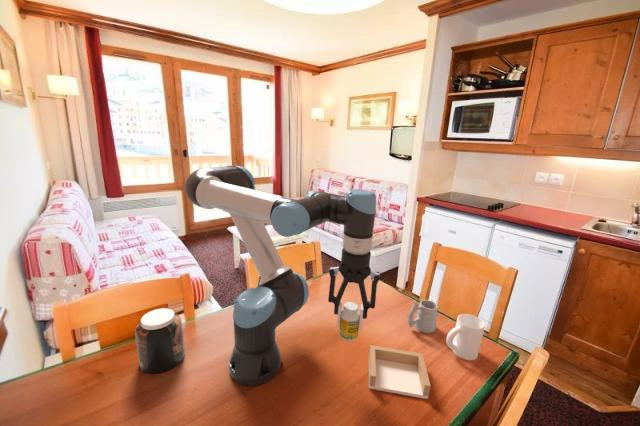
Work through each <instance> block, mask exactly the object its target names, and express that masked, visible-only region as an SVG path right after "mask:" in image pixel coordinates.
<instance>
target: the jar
mask: <svg viewBox="0 0 640 426" xmlns="http://www.w3.org/2000/svg"><path fill="white" fill-rule="evenodd" d="M134 332H135V333H134V334H135V335H134V336H135V344H136V351H137V352H136V353H137V356H138V357H137V359H138V363H139V368H140V370H141V371H142V372H143V373H146V374H149V375H158V374H162V373H163V374H164V373H165V372H168V371H170V370H172V369H174V368H175V367H177V366H178V365H179V364H180V363H182V361H183V359H184V357H185V341H184V332H183V322H182V319H181V317H180V315H179V314H178V313H175V312H174V310H173V309H170V308H166V307H165V308H163V307H162V308H157V309H153V310H151V311H148V312H147V313H145V314H144V315H143V316H142V317H141V318H140V321H139V322H138V323H137V324H136V326H135V329H134Z"/></svg>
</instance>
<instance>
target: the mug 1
mask: <svg viewBox="0 0 640 426" xmlns="http://www.w3.org/2000/svg"><path fill="white" fill-rule="evenodd" d="M438 310H439V305H437V303H436V302H434V301H433V300H430V299H429V300H428V299H421V300H420V301H419V304H418V302H417V300H413V304H412V306H411V309H410V310H409V312H408V314H407V325H408V326H409V328H412V327H414V326H415V328H416V329H417V330H418V331H420V333H424V334H433V333H434V332H435V331H436V329H437V318H438V315H439V313H438ZM416 312H417V314H416ZM414 314H416V317H415V318H414Z"/></svg>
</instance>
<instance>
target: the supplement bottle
mask: <svg viewBox="0 0 640 426" xmlns="http://www.w3.org/2000/svg"><path fill="white" fill-rule="evenodd" d="M359 319H360V311H359V305H358V304H357V303H355V302H352V301H348V302H345V303H344V305H343V307H342V309H341V317H340V327H339V331H338V333H339V334H338V335H339V337H340V338H341V339H342V340H344V341H348V342H353V341H355V340H356V339H357V338H358V336H359V335H358V334H359V330H358V329H359Z"/></svg>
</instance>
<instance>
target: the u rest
mask: <svg viewBox="0 0 640 426" xmlns="http://www.w3.org/2000/svg"><path fill="white" fill-rule="evenodd" d="M368 389H371V390H376V391H380V392H381V391H382V392H387V393H392V394H398V395H403V396H408V397H414V398H420V399H424V400H429V395H430V390H431V382H430V378H429V374H428V370H427V366H426V362H425V359H424V354H423V353H422V352H415V351H409V350H402V349H397V348H391V347H386V346H378V345H371V344H370V345H369V354H368Z"/></svg>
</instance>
